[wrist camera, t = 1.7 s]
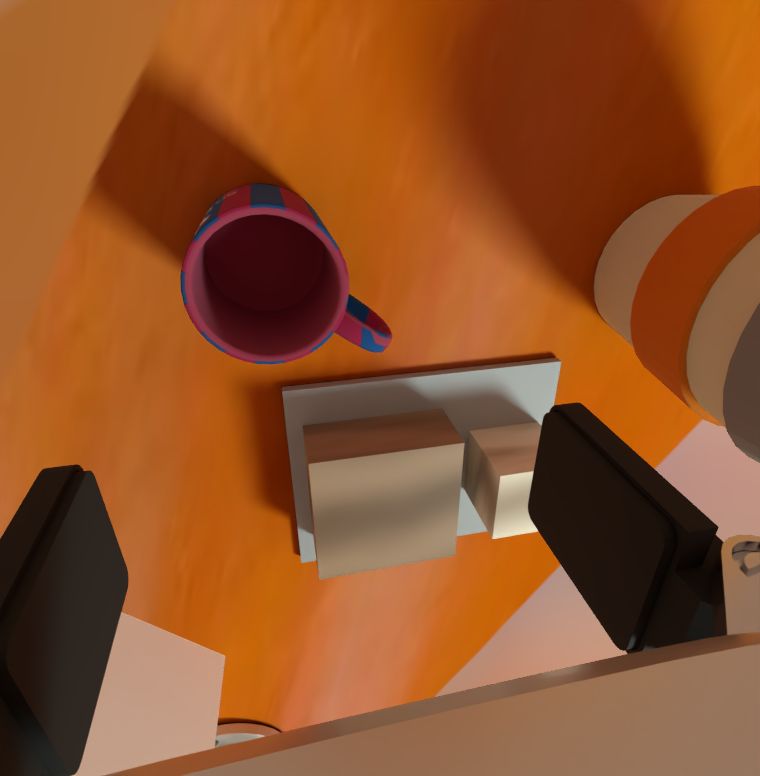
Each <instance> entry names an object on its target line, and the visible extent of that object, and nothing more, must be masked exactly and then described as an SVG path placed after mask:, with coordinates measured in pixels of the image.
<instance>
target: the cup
mask: <svg viewBox="0 0 760 776" xmlns="http://www.w3.org/2000/svg"><path fill="white" fill-rule="evenodd" d="M181 292H182V297H183V301H184V305H185V307H186V310H187V312H188V315H189V317H190V319H191V320H192V322H193V323H194V325H195V327H196V328H197V330H198V331H199V332H200V333H201V334H202V335H203V336H204V337H205V338H206V340H207V341H209V342H210V343H211V344H212V345H214V346H215V347H216V348H218V349H219V350H221V351H222V352H224V353H226V354H228V355H230V356H232V357H234V358H237V359H240V360H243V361H247V362H252V363H257V364H278V363H286V362H289V361H293V360H296V359H299V358H301V357H303V356H306V355H308V354H310V353H311V352H313V351H314V350H316V349H317V348H319V347H320V346H321V345H323V344H324V343H325V342H326V341H327V340H328V339H329V338H330V337H331V335H332V334H333V333H334V332H335V333H337V334H338V335H340V336H341V337H343V338H345V339H346V340H348V341H350V342H352V343H354V344H355V345H357V346H359V347H361V348H363V349H365V350H368V351H371V352H383V351H384V350H385V349H386V348H387V347H388V345H389V343H390V341H391V339H392V334H391V331H390V329H389V327H388V326H387V324H386V323H385V322H384V321H383V320H382V319H381V318H380V317H379V316H378V315H377V314H376V313H375V312H374V311H372V310H371V309H370V308H368V307H367V306H366V305H364V304H363V303H361V302H360V301H359V300H357V299H356V298H354V297H353V296H351V295H350V294H349V276H348V271H347V267H346V263H345V260H344V258H343V256H342V253H341V251H340V249H339V247H338V246H337V244H336V243H335V241H334V240H333V238H332V236H331V235H330V233H329V232H328V230H327V229H326V227H325V226H324V224H323V223H322V221H321V220H320V218H319V217H318V215H317V213H316V212H315V210H314V209H313V208H312V207H311V206H310V205H309V204H308V203H307V202H306V201H305V200H303V199H302V198H301V197H299V196H298V195H297V194H295V193H293V192H291V191H289V190H287V189H285V188H282V187H279V186H275V185H270V184H248V185H244V186H240V187H237V188H235V189H233V190H231V191H228V192H226V193H225V194H224V195H222V196H221V197H220V198H218V199H217V200H216V201H215V202H214V203H213V204H212V205H211V207H210V208H209V209H208V211H207V212H206V214H205V216H204V217H203V219H202V221H201V223H200V225H199V227H198V229H197V231H196V233H195V235H194V237H193V239H192V241H191V243H190V245H189V247H188V249H187V252H186V254H185V257H184V260H183V264H182V270H181Z"/></svg>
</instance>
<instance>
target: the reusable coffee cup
mask: <svg viewBox="0 0 760 776" xmlns="http://www.w3.org/2000/svg"><path fill="white" fill-rule="evenodd" d="M594 298H595V303H596V306H597V309H598V312H599V314H600V315H601V317H602V318H603V320H604V321H605V322H606V323H607V324H608V325H609V326H610V327H612V328H613V329H614V330H615V331H616V332H617V333H618V334H620V335H621V336H622V337H623V338H624V339H625V340H626V341H627V342H629V343H630V344H631V345H632V346H633V347H634V349H635V352H636V355H637V356H638V358H639V359H640V361H641V362H642V364H643V366H644V367H645V368H647V369H648V370H649V371H650V372H651V373H652V374H653V375H654V376H655V377H657V378H658V379H659V380H660V381H661V382H662V383H663V384H664V385H665V386H666V387H668V388H669V389H670V390H671V391H672V392H673V393H674V394H675V395H676V396H678V397H679V398H680V399H681V400H682V401H683V402H684V403H685V404H686V405H687V406H689V407H690V408H691V409H692V410H693V411H694V412H695V413H697V414H698V415H699V416H700V417H701V418H702V419H704V420H706V421H709V422H711V423H713V424H716V425H718V426H725V427H726V429H727V432H728V434H729V435H730V437H731V438H732V440H733V442H734V444H735V446H736V447H738V448H739V449H740V450H741V451H742V452H744V453H745V454H746V455H747V456H748V457H750V458H752V459H754V460H756V461H757V462H759V463H760V186H751V187H746V188H740V189H735V190H732V191H730V192H727V193H725V194H723V195H671V196H666V197H661V198H659V199H656V200H654V201H652V202H649V203H647V204H646V205H644V206H643V207H641V208H639V209H638V210H636V211H635V212H634V213H633V214H631V215H630V216H629V217H628V218H627V219H626V220H625V221H623V223H622V224H621V225H620V226H619V227H618V229H617V230H616V231H615V232H614V233H613V235H612V236H611V238H610V239H609V241H608V243H607V244H606V246H605V247H604V250H603V252H602V254H601V257H600V259H599V261H598V265H597V269H596V273H595V278H594Z"/></svg>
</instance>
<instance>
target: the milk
mask: <svg viewBox="0 0 760 776" xmlns="http://www.w3.org/2000/svg"><path fill="white" fill-rule="evenodd" d="M224 664H225V655H222V654H220V653H218V652H215V651H213V650H210V649H208V648H206V647H203V646H201V645H199V644H196V643H194V642H191V641H189V640H187V639H184V638H182V637H180V636H177V635H175V634H172V633H170V632H168V631H165V630H163V629H161V628H158V627H156V626H153V625H151V624H149V623H146V622H144V621H142V620H139V619H137V618H134V617H132V616H130V615H127V614H125V613H123V612H121V615H120V619H119V622H118V626H117V630H116V634H115V637H114V641H113V645H112V649H111V652H110V656H109V660H108V664H107V667H106V671H105V675H104V679H103V682H102V686H101V690H100V694H99V697H98V701H97V705H96V709H95V712H94V716H93V720H92V724H91V728H90V731H89V735H88V739H87V743H86V746H85V750H84V754H83V758H82V761H81V764H80V767H79V769H78V771H77V773H76V774H75V775H72V776H103V775H107V774H111V773H115V772H119V771H123V770H127V769H131V768H135V767H139V766H143V765H147V764H151V763H155V762H159V761H163V760H167V759H171V758H175V757H179V756H183V755H188V754H192V753H196V752H200V751H205V750H209V749H213V748H215V740H216V732H217V723H218V715H219V706H220V698H221V689H222V681H223V672H224Z"/></svg>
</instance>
